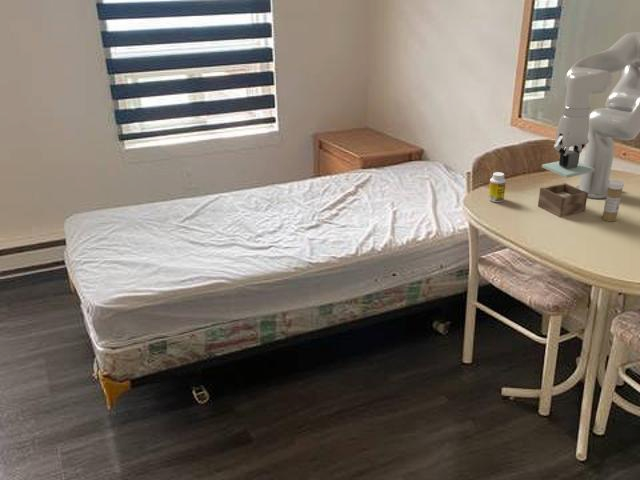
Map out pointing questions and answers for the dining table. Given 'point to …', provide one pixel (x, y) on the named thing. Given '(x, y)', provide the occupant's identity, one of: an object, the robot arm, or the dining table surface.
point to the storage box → (562, 199)
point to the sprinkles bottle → (612, 200)
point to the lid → (569, 166)
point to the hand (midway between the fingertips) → (568, 164)
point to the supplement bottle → (497, 187)
